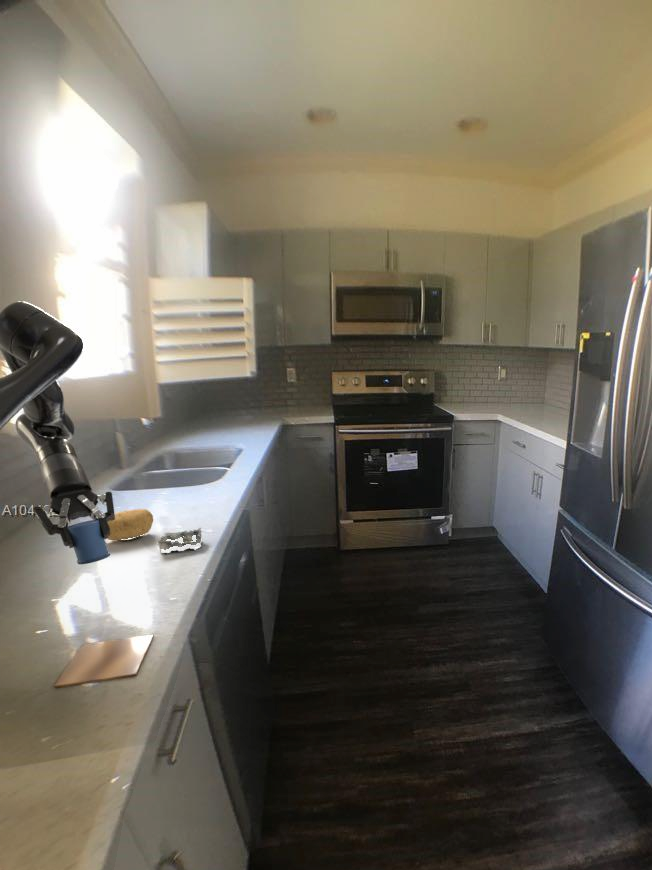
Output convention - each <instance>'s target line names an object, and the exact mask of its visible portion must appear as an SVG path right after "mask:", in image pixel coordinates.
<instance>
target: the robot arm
mask: <svg viewBox="0 0 652 870" xmlns="http://www.w3.org/2000/svg"><path fill="white" fill-rule="evenodd" d="M84 343H85V342H84V340H83V337H82V336H81V335H80V334H79V333H78V332H76V331H75V330H74V329H73V328H71V327H69V326H68V325H66V324H64V322H61V321H60V320H58V319H57V318H56V317H54V316H52V315H50V314H49V313H48V312H46V311H44V310H43V309H41V308H40V307H38V306H35V305H34V304H32V303H29V302H27V301H21V300H20V301H14V302H12V303H9V304H8V305H6V306H5V307H4V308H3V309H2V310H1V311H0V353H1V354H2V357H3V358H4V360H5V362H6V364H7V366H8V368H9V370H10V372H11V373H9V374H7V375H4V376H2V377H0V431H1V430H2V429H3V428H4V427H5V426H7V424H9V422H10V421H11V420H12V419H13V418H14V417H15V416H16V415H17V414H18V413H19V412H20V411H21V410H23V413H22V414H20V415H19V416H18V417H17V418H16V420H15V424H14V426H15V430H16V433H17V435H18V437H19V438H20V439H21V441H22V442H23V443H24V444H25V445H26V446H27V447H28V448H29V449H30V450H31V452H33V454H34V456H35V457H36V459H37V462H38V465H39V468H40V474H41V478H42V481H43V485H44V486H45V489H46V492H47V495H48V497H49V500H50V501H49V504H48V505H46V506H44V507H41V506H39V505H37V506H34V507H33V511H34V514H35V517H36V519H37V520H38V522H39V523H40V524H41V526H42V527H43V529H44V530H45V531H46V533H47V534H48V535H49V536H54V535H60V537H61V540H62V543H63V546H64V547H69V549H74V545H73V542H72V539H71V536H70V534H69V531H68V529H67V527H68V526H71V521H74V520H77V519H80V518H87V517H89V518H90V519H91V520H99V524H100V527H101V530H102V533H103V536H104V539H105V540H107V538H108V536H109V535H110V534H111V532H110V528H109V525H108V523H107V522H108V521H113V520H114V519H115V513H116V512H115V505H114V498H113V497H114V496H113V492H112V491H105V494H97V493H96V492H94V490H93V488H92V486H91V483H90V481H89V479H88V476H87V474H86V471H85V469H84V467H83V465H82V463H81V462H80V460H79V457H78V455H77V453H76V450H75V448H74V446H73V444H72V443H71V442H70V440H71V439H72V438H73V437H74V436H75V432H76V430H75V425H74V422H73V419H72V418H71V416H70V415H69V413H67V411H66V410H65V397H64V393H63V390H62V387H61V385H60V383H59V382H58V379H60V378H61V377H62V376H63V375H65V374H66V373H67V372H68V371H69V370H70V369H71V368H72V367H73V366H74V365H75V363H76V362H77V361H78V360H79V358H80V357H81V355H82V353H83V351H84V347H85V346H84ZM99 502H101V503H102V505H104V506H105V507H106V512H103V511H101V510H100V509H99V508H98V506H97V504H98V503H99ZM51 513H53V514H56V515H57V516H58V517H59V518H58V523H57V524H54V523H53V522H52V520H51V519H50V517H51Z"/></svg>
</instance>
